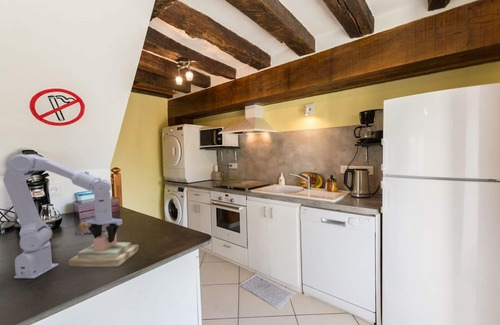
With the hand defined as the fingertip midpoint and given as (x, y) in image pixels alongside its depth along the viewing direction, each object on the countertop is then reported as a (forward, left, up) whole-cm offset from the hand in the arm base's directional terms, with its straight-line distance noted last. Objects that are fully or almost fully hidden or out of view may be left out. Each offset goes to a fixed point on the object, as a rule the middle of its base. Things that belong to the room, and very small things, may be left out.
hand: (105, 241), depth 91 cm
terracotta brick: (0, 0, -2) cm, 2 cm away
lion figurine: (+28, +29, -7) cm, 41 cm away
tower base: (0, 0, -7) cm, 7 cm away
